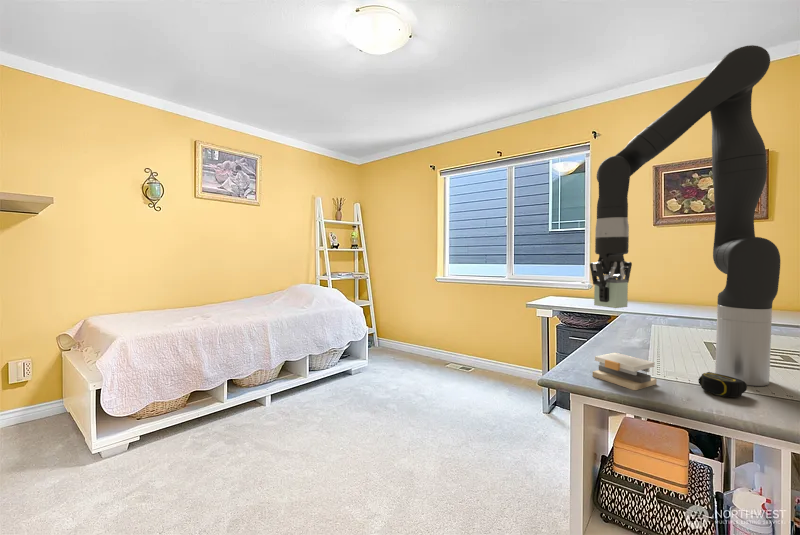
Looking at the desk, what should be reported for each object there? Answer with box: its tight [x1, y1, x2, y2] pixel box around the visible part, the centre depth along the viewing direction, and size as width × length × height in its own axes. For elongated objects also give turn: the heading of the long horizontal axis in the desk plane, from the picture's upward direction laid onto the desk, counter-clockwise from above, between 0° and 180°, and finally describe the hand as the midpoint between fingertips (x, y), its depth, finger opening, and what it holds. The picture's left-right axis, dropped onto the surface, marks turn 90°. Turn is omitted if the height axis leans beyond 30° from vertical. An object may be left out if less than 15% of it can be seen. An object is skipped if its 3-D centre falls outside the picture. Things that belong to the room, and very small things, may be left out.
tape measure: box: [697, 371, 748, 398], centre depth 77 cm, size 7×7×4 cm
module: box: [593, 278, 629, 309], centre depth 95 cm, size 5×6×7 cm
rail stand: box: [592, 365, 658, 391], centre depth 85 cm, size 8×10×2 cm
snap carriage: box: [594, 352, 656, 375], centre depth 84 cm, size 8×9×2 cm
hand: (610, 300), depth 95 cm, fingers closed on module, 4 cm apart
